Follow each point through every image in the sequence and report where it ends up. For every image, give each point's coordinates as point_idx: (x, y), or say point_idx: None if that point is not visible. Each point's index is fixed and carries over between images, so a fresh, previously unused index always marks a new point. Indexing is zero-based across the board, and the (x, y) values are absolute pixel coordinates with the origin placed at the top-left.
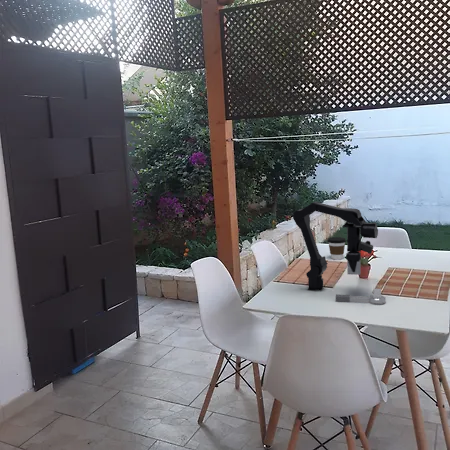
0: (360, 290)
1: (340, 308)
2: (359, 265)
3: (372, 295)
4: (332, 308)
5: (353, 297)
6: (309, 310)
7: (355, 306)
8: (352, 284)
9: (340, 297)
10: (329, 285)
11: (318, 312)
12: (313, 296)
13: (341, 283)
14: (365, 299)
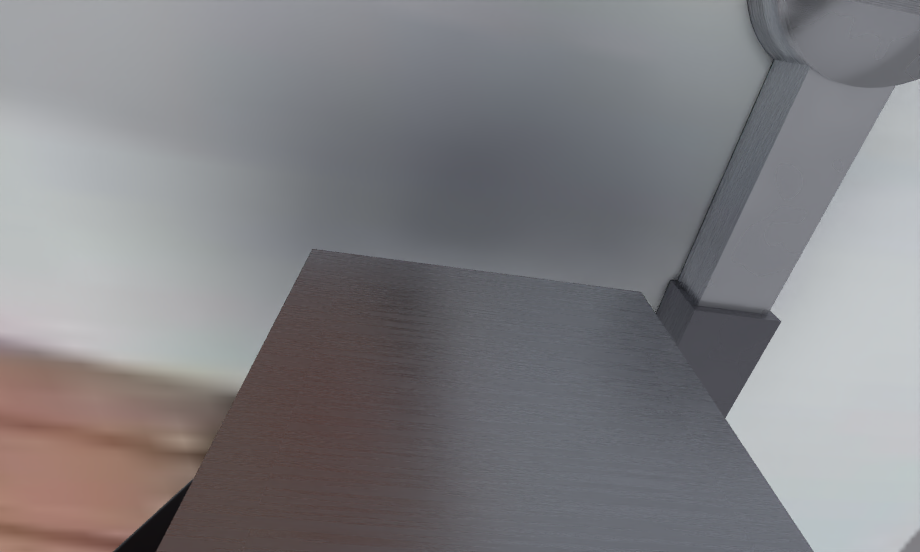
0: (329, 111)
1: (881, 377)
2: (777, 540)
3: (799, 8)
4: (851, 429)
5: (765, 274)
6: (822, 547)
7: (894, 251)
8: (63, 181)
9: (733, 396)
10: (180, 416)
11: (888, 507)
12: None
13: (63, 304)
14: (856, 135)
